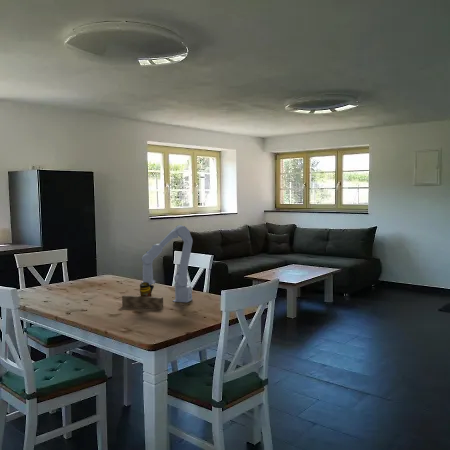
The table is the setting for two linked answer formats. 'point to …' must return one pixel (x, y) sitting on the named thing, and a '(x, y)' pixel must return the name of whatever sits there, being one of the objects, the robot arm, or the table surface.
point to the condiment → (145, 289)
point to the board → (142, 302)
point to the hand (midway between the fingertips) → (148, 298)
